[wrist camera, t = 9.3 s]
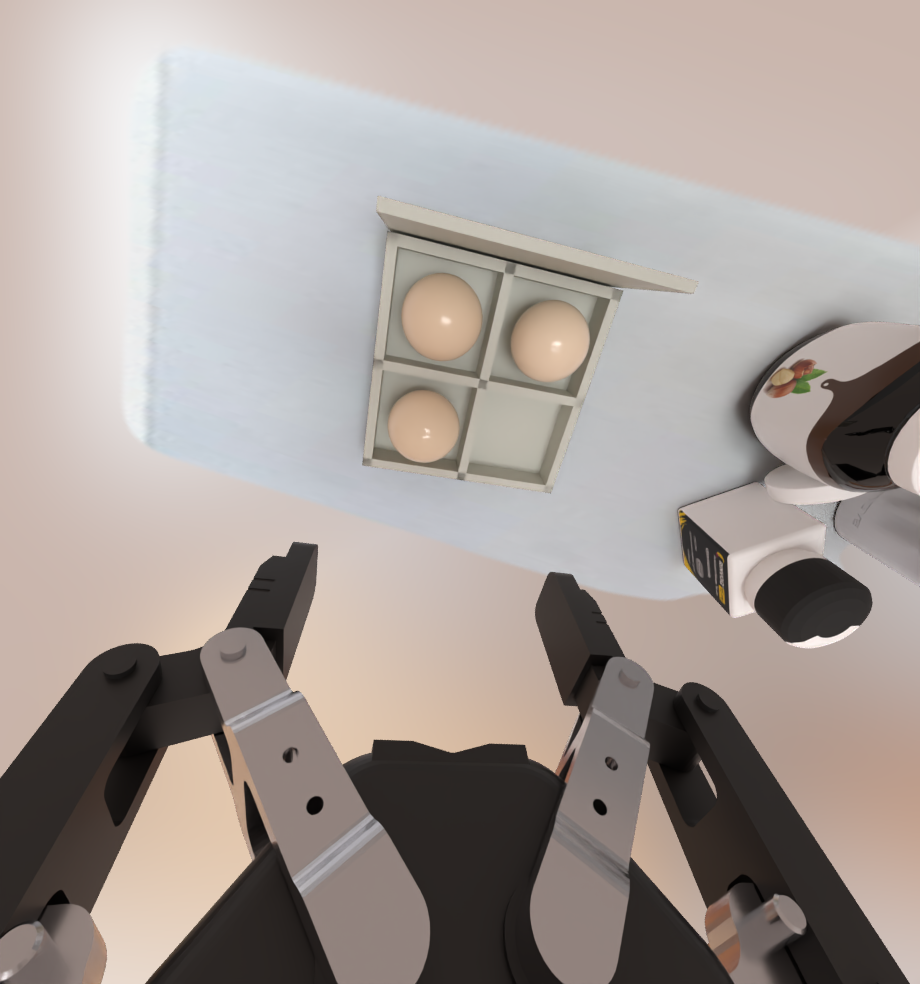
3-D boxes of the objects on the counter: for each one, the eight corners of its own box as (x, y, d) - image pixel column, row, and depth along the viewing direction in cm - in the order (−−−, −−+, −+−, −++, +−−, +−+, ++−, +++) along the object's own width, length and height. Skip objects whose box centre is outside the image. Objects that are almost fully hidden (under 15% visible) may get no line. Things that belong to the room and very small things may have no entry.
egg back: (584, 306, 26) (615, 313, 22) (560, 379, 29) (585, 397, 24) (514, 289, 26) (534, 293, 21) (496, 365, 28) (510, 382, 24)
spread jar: (840, 298, 28) (1077, 314, 18) (894, 400, 33) (1109, 459, 22) (697, 424, 32) (826, 495, 22) (762, 501, 36) (896, 590, 26)
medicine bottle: (676, 507, 36) (783, 605, 25) (756, 479, 35) (900, 568, 25) (682, 565, 39) (779, 672, 29) (756, 540, 38) (882, 641, 28)
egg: (462, 388, 28) (470, 409, 24) (449, 450, 31) (454, 479, 26) (394, 375, 27) (390, 395, 23) (385, 440, 30) (380, 469, 26)
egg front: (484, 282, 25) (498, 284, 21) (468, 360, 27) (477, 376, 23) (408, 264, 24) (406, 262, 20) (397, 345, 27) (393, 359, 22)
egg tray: (610, 278, 26) (699, 281, 18) (541, 478, 33) (583, 548, 25) (391, 221, 24) (377, 195, 15) (366, 451, 30) (346, 518, 22)
